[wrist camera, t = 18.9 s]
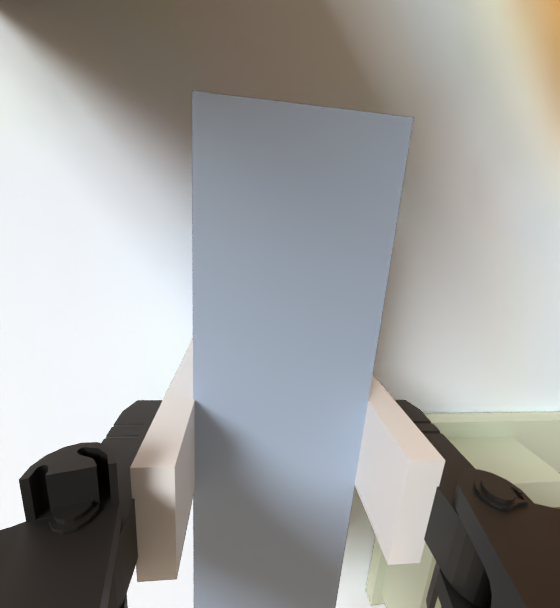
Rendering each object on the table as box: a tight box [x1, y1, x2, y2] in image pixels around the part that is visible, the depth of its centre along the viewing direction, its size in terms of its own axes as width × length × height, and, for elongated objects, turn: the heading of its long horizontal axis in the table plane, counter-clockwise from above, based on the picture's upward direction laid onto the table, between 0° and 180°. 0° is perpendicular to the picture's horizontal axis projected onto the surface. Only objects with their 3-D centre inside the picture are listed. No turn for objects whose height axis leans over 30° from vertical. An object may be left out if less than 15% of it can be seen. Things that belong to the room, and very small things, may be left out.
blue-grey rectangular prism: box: [192, 91, 414, 608], centre depth 10 cm, size 16×4×5 cm, turn 176°
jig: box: [365, 412, 560, 608], centre depth 17 cm, size 13×20×4 cm, turn 86°
